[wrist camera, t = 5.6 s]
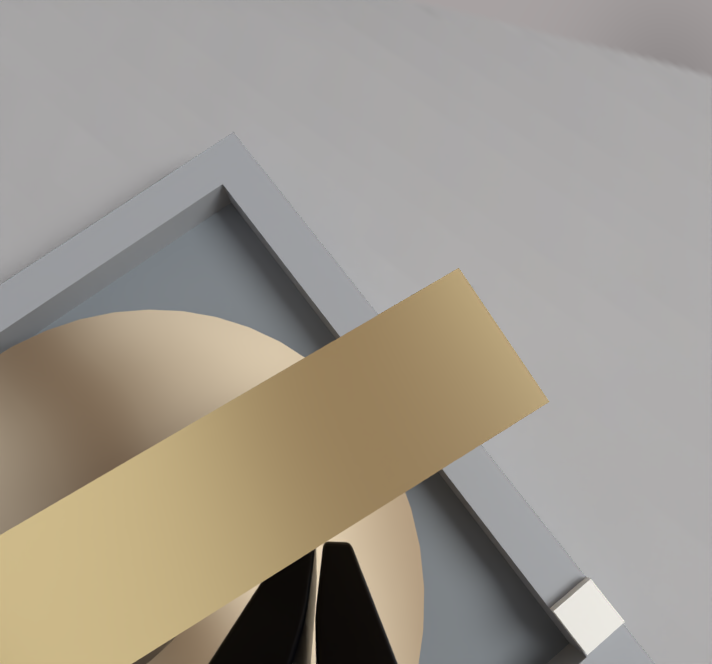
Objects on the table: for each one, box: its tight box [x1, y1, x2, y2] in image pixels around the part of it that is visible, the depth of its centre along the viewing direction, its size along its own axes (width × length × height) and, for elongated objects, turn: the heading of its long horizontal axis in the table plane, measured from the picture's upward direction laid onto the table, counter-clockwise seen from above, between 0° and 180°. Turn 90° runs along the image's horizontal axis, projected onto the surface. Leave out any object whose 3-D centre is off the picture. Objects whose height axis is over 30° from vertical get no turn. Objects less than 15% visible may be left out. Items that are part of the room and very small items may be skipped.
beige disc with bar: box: [0, 268, 549, 664], centre depth 10 cm, size 15×14×11 cm
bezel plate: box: [0, 132, 655, 664], centre depth 15 cm, size 18×18×2 cm
